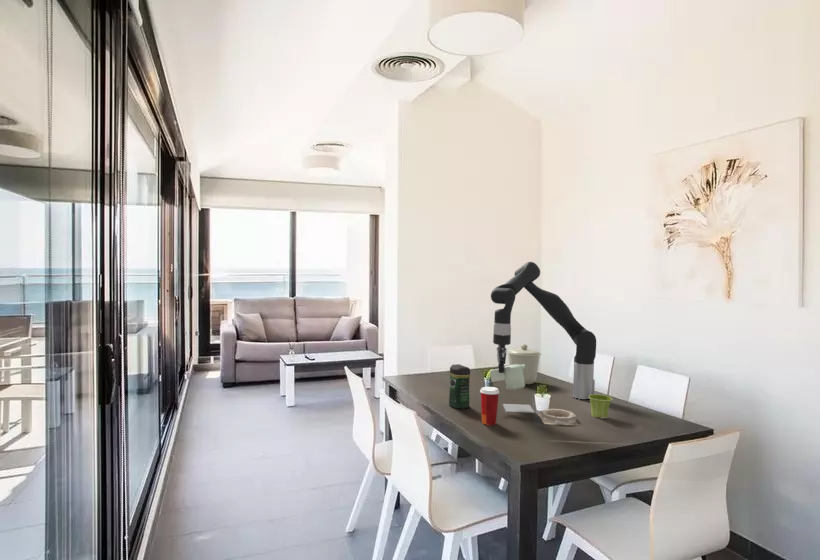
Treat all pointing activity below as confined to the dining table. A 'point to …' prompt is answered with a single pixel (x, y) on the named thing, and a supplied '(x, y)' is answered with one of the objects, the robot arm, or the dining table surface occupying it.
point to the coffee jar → (459, 386)
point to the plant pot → (599, 405)
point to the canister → (525, 362)
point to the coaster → (518, 408)
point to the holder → (558, 417)
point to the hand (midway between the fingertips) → (500, 372)
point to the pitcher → (510, 376)
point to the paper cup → (489, 405)
